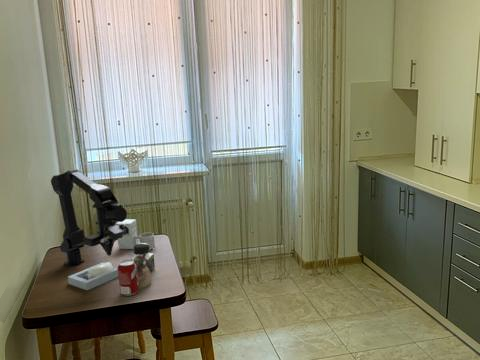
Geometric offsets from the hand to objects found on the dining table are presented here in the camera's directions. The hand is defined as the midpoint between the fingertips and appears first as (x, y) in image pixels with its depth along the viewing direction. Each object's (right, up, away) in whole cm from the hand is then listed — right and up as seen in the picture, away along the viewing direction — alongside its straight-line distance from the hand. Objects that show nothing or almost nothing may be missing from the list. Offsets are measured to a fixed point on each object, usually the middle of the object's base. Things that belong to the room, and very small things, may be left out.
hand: (109, 255), depth 197 cm
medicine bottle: (+14, -7, 0) cm, 16 cm away
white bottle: (0, -5, +1) cm, 5 cm away
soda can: (+13, -11, -18) cm, 25 cm away
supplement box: (+1, -1, +32) cm, 32 cm away
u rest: (-4, -9, -4) cm, 10 cm away
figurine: (+16, -9, -11) cm, 21 cm away
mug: (+9, -1, +28) cm, 30 cm away
